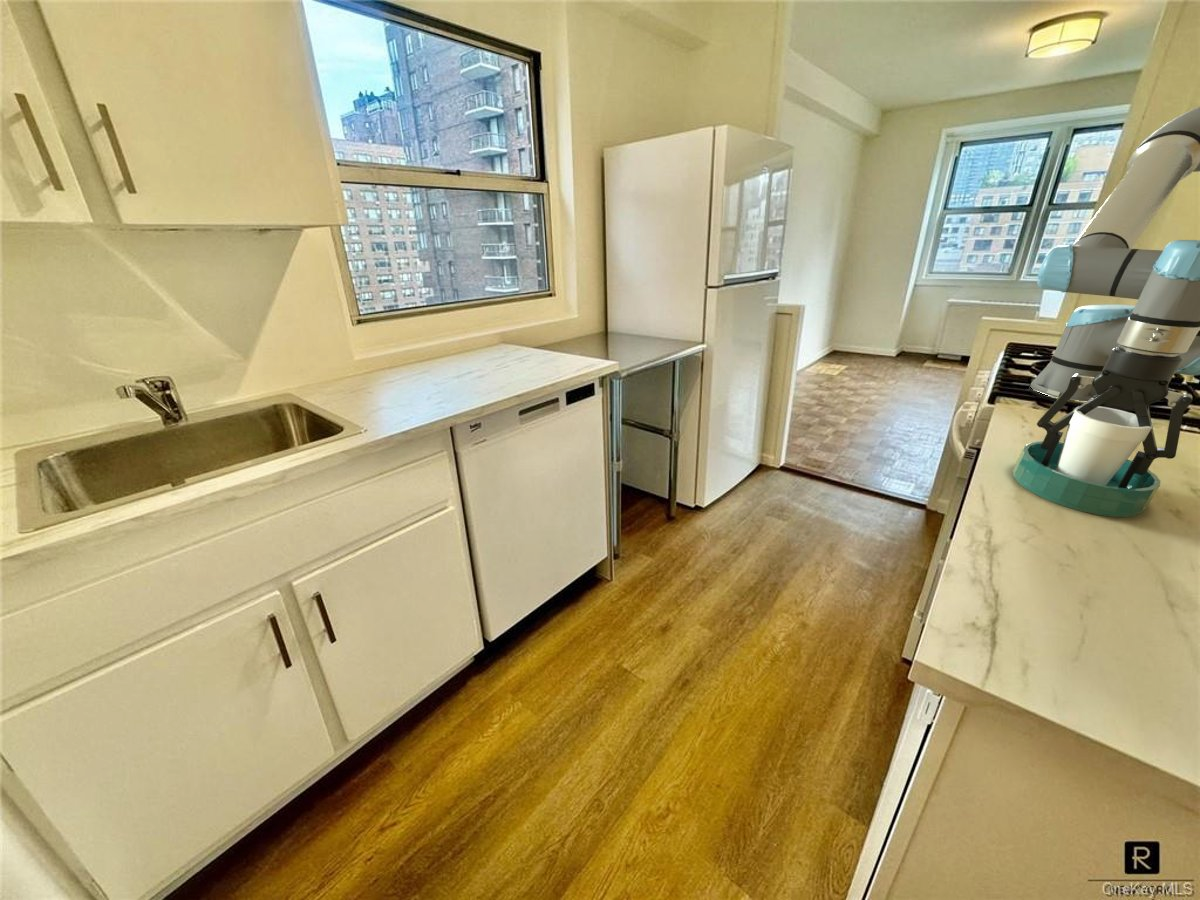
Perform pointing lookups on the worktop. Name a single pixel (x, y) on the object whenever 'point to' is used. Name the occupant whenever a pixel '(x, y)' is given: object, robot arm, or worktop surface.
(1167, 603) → the worktop surface
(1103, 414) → the foam cup
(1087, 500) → the teal plant saucer
